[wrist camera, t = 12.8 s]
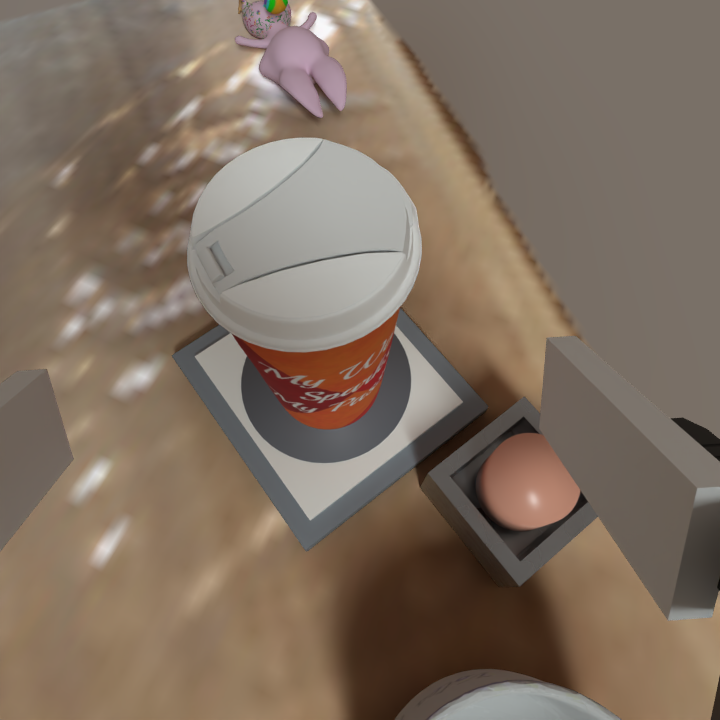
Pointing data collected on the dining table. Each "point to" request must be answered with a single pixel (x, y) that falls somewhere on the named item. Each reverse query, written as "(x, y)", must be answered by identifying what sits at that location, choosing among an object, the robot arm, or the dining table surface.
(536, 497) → the button
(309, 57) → the pink unicorn toy
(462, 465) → the button housing
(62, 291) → the dining table surface
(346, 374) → the paper cup
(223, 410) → the board
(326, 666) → the dining table surface
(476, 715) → the teacup
